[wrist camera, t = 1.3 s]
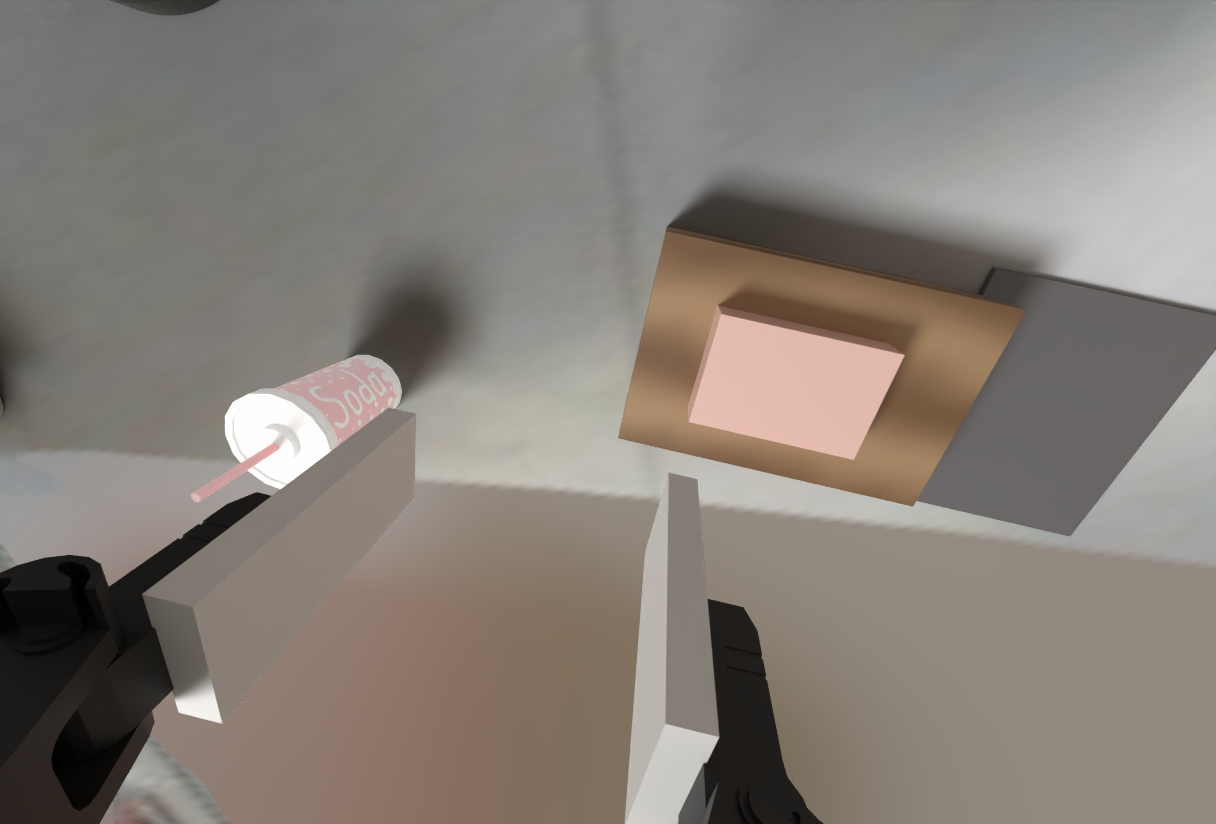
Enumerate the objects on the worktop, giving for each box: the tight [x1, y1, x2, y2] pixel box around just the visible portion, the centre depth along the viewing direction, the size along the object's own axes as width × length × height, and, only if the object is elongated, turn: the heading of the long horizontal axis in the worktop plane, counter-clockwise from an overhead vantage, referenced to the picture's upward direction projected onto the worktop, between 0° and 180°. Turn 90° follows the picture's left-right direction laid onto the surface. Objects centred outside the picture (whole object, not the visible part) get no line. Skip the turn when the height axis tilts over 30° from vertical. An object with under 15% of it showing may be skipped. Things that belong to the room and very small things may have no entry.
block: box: [688, 306, 905, 460], centre depth 25 cm, size 6×9×2 cm, turn 79°
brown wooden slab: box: [618, 226, 1026, 506], centre depth 28 cm, size 12×18×4 cm, turn 79°
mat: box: [916, 268, 1216, 536], centre depth 29 cm, size 15×13×1 cm
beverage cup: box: [191, 355, 402, 502], centre depth 28 cm, size 6×6×14 cm
